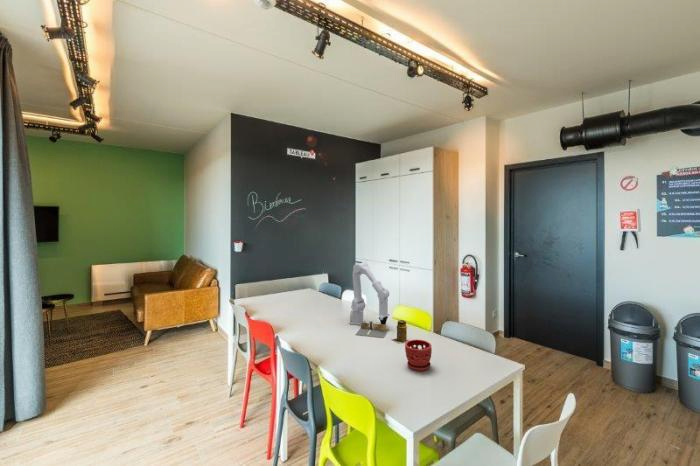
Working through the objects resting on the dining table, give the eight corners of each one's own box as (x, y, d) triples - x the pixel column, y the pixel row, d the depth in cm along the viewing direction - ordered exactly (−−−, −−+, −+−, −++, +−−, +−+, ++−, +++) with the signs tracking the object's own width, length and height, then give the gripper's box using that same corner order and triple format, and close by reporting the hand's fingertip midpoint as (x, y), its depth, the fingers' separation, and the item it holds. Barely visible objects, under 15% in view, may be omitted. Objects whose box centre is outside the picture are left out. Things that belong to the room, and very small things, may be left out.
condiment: (409, 340, 199) (409, 321, 198) (399, 343, 194) (399, 324, 194) (401, 337, 205) (401, 318, 204) (391, 340, 200) (391, 321, 200)
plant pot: (412, 359, 173) (412, 337, 173) (435, 366, 165) (435, 343, 164) (400, 367, 163) (400, 344, 162) (424, 375, 155) (424, 351, 154)
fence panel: (372, 329, 218) (372, 323, 217) (373, 329, 219) (373, 323, 218) (386, 331, 215) (386, 325, 215) (386, 330, 216) (386, 324, 216)
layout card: (355, 335, 209) (355, 334, 209) (362, 326, 225) (362, 326, 225) (383, 338, 203) (383, 337, 203) (388, 329, 219) (388, 328, 219)
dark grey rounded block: (360, 328, 220) (360, 321, 219) (361, 328, 222) (361, 320, 221) (372, 330, 217) (372, 322, 217) (372, 329, 219) (372, 321, 219)
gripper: (387, 311, 210) (387, 331, 211) (391, 305, 224) (391, 324, 225) (376, 310, 212) (376, 330, 213) (381, 304, 226) (381, 323, 227)
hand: (383, 327), depth 219 cm, fingers closed
